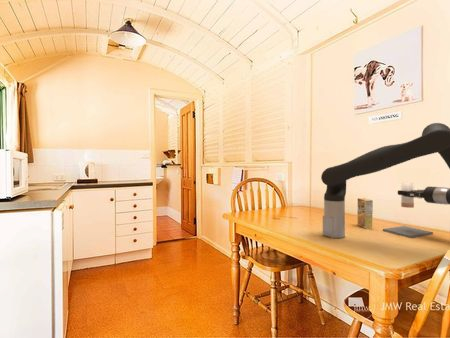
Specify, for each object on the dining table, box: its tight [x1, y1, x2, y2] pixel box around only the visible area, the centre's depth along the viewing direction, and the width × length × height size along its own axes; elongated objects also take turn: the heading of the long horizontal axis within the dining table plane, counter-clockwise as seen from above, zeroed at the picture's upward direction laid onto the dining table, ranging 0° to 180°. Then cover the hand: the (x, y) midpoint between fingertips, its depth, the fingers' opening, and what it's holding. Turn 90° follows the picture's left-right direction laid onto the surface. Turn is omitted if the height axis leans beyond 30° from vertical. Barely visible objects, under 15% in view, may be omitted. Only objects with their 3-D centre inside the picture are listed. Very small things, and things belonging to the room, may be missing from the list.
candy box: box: [357, 197, 374, 230], centre depth 145 cm, size 9×4×15 cm, turn 0°
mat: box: [382, 225, 434, 239], centre depth 132 cm, size 16×14×1 cm
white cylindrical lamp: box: [400, 181, 415, 209], centre depth 132 cm, size 5×5×12 cm
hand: (402, 192), depth 134 cm, fingers closed on white cylindrical lamp, 5 cm apart
